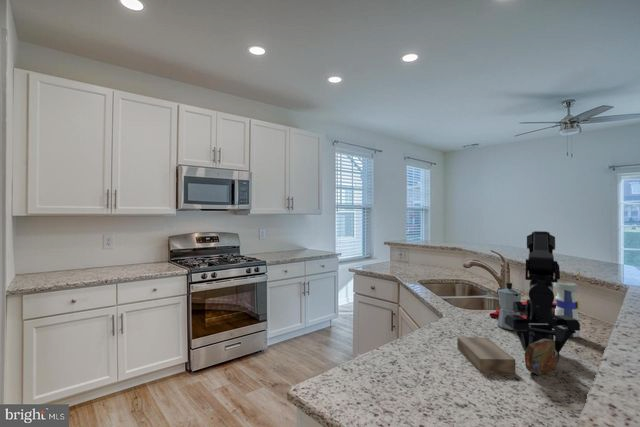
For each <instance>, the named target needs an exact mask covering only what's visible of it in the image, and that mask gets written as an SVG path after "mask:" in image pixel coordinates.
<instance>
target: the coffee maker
mask: <svg viewBox="0 0 640 427" xmlns="http://www.w3.org/2000/svg"><path fill="white" fill-rule="evenodd" d="M496 295H497V298H498V301H499V302H498V303H499V306H500V308H501V309H500V308H499V309H500V313H499V319H497V324H496V325H497V326H498V327H499V328H500V329H505V330H510V331H515V330H514V329H512V328H511V327H510V326H508V325H506V324H505V317H506V316H507V315H519V312H514V311H513V302H521V299H522V292H521V291H519V290H516V289H514V288H513V282H506V287H498V288H497V290H496ZM519 316H520V315H519Z"/></svg>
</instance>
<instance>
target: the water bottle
mask: <svg viewBox="0 0 640 427" xmlns="http://www.w3.org/2000/svg"><path fill="white" fill-rule="evenodd" d="M580 275H581V273H580V270H579V269H578V270H577V278H578V280H579V279H581V276H580ZM557 281H558V280H557ZM553 288H556V292H557V293H556V296H554V299H555V300H556V302H557V306H556V308H555V314H554V316H555V315H567V316H569V317H571V318H574V319H576V320H578V321H579V311H578V310H579V308H580V302H579V300H578V298H577V295H576V294H578V288H580V286H579V285H578V284H577V283H575V282H571V281H560V280H559V281H558V282H557V283H555V282H553ZM571 337H572V338H578V337H580V331H576V333H573V334H572V335H571V336H570V338H571Z"/></svg>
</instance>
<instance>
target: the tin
mask: <svg viewBox="0 0 640 427" xmlns="http://www.w3.org/2000/svg"><path fill="white" fill-rule="evenodd" d="M559 361H560V352H557V351H556V350H555V339H554V340H549V339H541V340H539V341H536V342H534V343H531V344H529V345H528V346H527V348H526V351H524V364H525V365H524V366H525V368H526V369H527V371H528V372H530V373H531V374H536V375H537V376H543V375H544V374H547V373H548V372H550V371H552V370H554V369H555V368H556V367H557V366H558V364H559Z"/></svg>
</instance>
